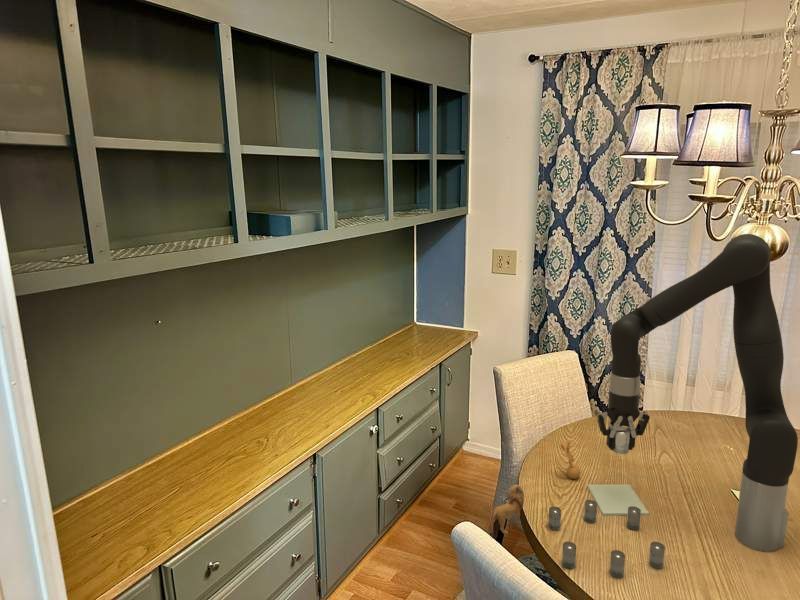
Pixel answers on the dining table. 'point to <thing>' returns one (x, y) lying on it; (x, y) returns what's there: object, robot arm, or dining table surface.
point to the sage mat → (616, 499)
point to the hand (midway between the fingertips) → (620, 448)
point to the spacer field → (616, 556)
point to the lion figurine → (508, 509)
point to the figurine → (572, 470)
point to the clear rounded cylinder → (622, 440)
